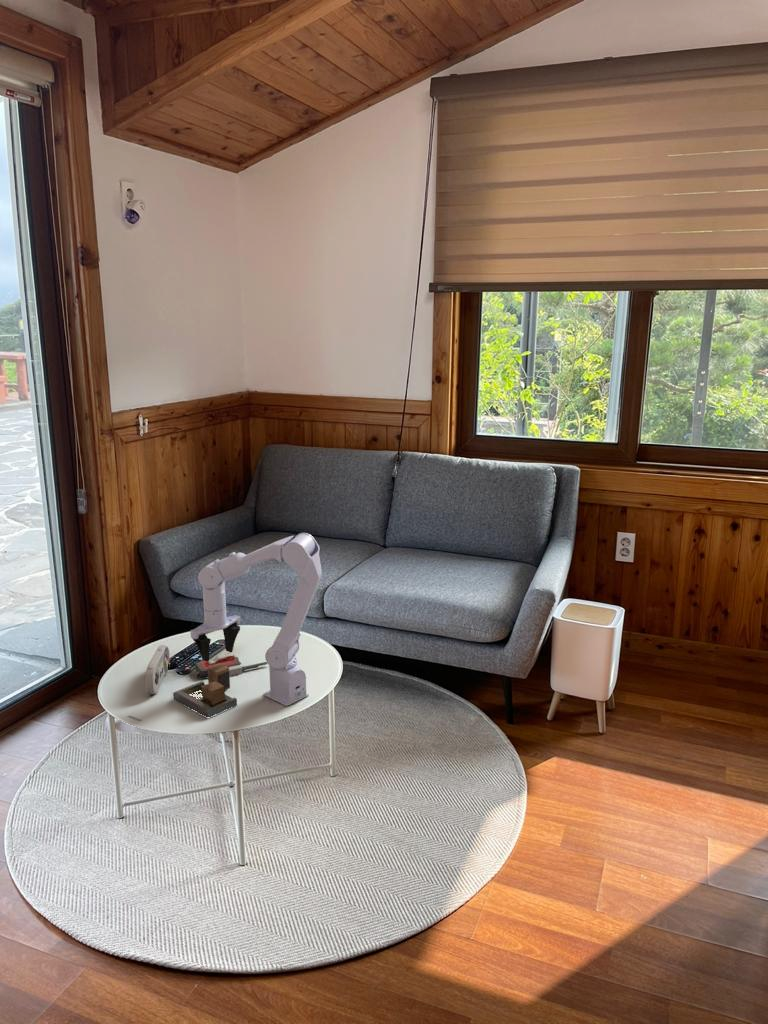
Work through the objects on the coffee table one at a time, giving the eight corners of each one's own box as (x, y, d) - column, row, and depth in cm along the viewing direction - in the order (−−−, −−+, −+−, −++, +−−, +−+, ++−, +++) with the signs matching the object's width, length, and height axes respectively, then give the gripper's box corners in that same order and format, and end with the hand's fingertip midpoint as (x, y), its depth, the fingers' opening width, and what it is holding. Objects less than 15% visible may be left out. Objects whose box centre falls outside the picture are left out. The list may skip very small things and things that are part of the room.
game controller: (155, 699, 202) (152, 670, 200) (146, 699, 201) (143, 670, 199) (171, 667, 220) (169, 640, 218) (163, 667, 220) (161, 640, 218)
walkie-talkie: (199, 684, 210) (268, 669, 220) (198, 669, 209) (268, 654, 219) (190, 672, 218) (257, 657, 227) (189, 657, 217) (257, 643, 226)
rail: (237, 705, 198) (236, 684, 197) (208, 718, 192) (206, 696, 190) (202, 687, 208) (201, 667, 206) (173, 699, 201) (172, 678, 200)
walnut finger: (231, 688, 208) (230, 668, 206) (219, 693, 205) (218, 673, 203) (220, 683, 210) (219, 663, 209) (208, 688, 208) (207, 667, 206)
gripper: (228, 597, 210) (230, 643, 213) (182, 611, 200) (185, 660, 203) (244, 603, 205) (246, 650, 209) (198, 618, 195) (201, 667, 198)
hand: (217, 655), depth 205 cm, fingers open, 7 cm apart
